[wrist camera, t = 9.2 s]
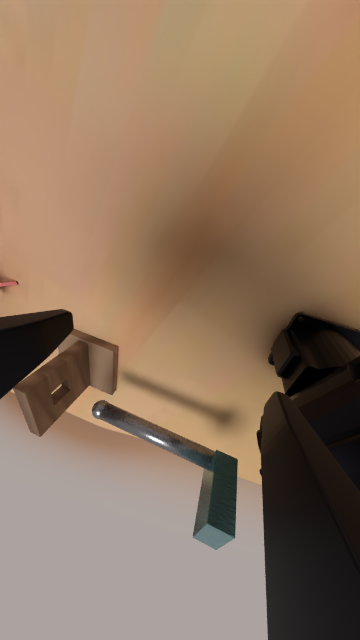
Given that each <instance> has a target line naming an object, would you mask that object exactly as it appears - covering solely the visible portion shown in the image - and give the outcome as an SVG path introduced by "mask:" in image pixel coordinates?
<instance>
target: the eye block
mask: <svg viewBox="0 0 360 640" xmlns="http://www.w3.org/2000/svg"><path fill="white" fill-rule="evenodd" d="M58 349H59V355H57V356H56V357H55V358H53V359H52V360H51V361H49V362H48V363H46V364H45V365H44V366H42V367H41V368H39V369H38V370H37V371H35V372H34V373H32V374H31V375H30V376H28V377H27V378H26V379H24V380H23V381H21V382H20V383H19V384H17V385H16V386H15V387H14V388H13V390H14V392H15V394H16V397H17V400H18V402H19V405H20V407H21V410H22V412H23V415H24V417H25V419H26V422H27V424H28V427H29V430H30V432H32V433H34V434H36V435H38V436H39V437H41V436H42V435H43V434H44V433H45V432H46V430H47V429H48V428H49V427H50V426H51V425H52V424H53V423H54V422H55V421H56V420H57V419H58V418H59V417H60V416H61V415H62V413H63V412H64V411H65V410H66V409H67V408H68V407H69V406H70V405H71V404H72V403H73V402H74V401H75V400H76V399H77V398H78V397H79V396H80V395H81V394H82V392H83V391H84V390H85V389H86V388H87V387H88V386H89V385H90V386H92V387H95V388H97V389H99V390H101V391H104V392H106V393H108V394H110V395H113V393H114V392H115V391H116V382H117V361H118V346H115V345H113V344H110V343H108V342H105V341H103V340H100V339H98V338H95V337H93V336H90V335H88V334H85V333H83V332H80V331H78V330H75V329H73V331H72V332H71V333H70V335H69V336H68V337H67V338H66V339H65V340H64V341H63V342H62V343H61V344H60V345H59V346H58ZM60 384H62V386H61V387H60V388H59V389H57V390H56V391H55V392H54V393H53V394H51V392H53V391H54V390H55V389H56V388H57V387H58V386H59V385H60Z"/></svg>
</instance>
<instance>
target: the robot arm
mask: <svg viewBox="0 0 360 640" xmlns="http://www.w3.org/2000/svg"><path fill="white" fill-rule="evenodd" d="M299 317H303V319H301V320H298V318H299ZM73 328H74V326H73V316H72V313H71V312H69V311H66V310H64V309H59V310H51V311H44V312H36V313H29V314H21V315H14V316H6V317H0V399H1V398H2V397H3V396H4V395H6V394H7V393H8V392H9V391H10V390H11V389H12V388H14V387H15V386H16V385H17V384H18V383H19V382H20V381H22V380H23V379H24V378H25V377H26V376H27V375H28V374H30V373H31V372H32V371H33V370H34V369H35V368H36V367H37V366H39V365H40V364H41V363H42V362H43V361H44V360H45V359H46V358H48V357H49V356H50V355H51V354H52V352H53V351H54V350H55V349H56V348H57V347H58V346H59V345H60V344H61V343H62V342H63V341H64V340H65V339H66V338H67V337H68V336H69V335H70V333H71V332H72V331H73ZM272 360H274V361H272ZM268 361H269V363H270V364H271V365H274V366H275V369H276V374H277V376H278V377H281V378H282V382H283V386H284V391H285V394H283V393H281V392H278V391H276V392H274V393H273V394H272V396H271V397H270V398H269V400H268V401H267V402H266V404H265V406H264V414H263V416H262V417H261V423H260V430H258V431H257V440H258V446H259V450H260V453H261V469H260V474H261V476H262V494H263V521H264V546H265V573H266V599H267V624H268V640H360V331H359V330H356V329H352V328H349V327H346V326H343V325H340V324H336V323H333V322H330V321H327V320H324V319H320V318H317V317H314V316H311V315H308V314H304V313H297V314H296V315H295V316H294V318H293V319H292V321H291V322H290V324H289V326H288V327H287V329H285V330H283V331H282V332H281V334H280V335H279V337H278V339H277V340H276V342H275V344H274V345H273V347H272V353H271V354H270V356H269V358H268Z"/></svg>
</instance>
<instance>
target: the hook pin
mask: <svg viewBox="0 0 360 640" xmlns="http://www.w3.org/2000/svg"><path fill="white" fill-rule="evenodd" d="M92 414H93V416H94V417H95V418H97V419H101V420H103V421H105V422H107V423H109V424H112V425H114V426H116V427H118V428H120V429H122V430H124V431H126V432H129V433H131V434H133V435H135V436H137V437H139V438H141V439H143V440H145V441H148V442H150V443H152V444H154V445H156V446H159V447H160V448H163V449H165V450H167V451H169V452H171V453H173V454H175V455H177V456H180V457H181V458H184V459H186V460H188V461H190V462H192V463H194V464H196V465H198V466H201V467H203V468H204V473H203V478H202V484H201V490H200V496H199V502H198V509H197V514H196V521H195V526H194V532H193V538H195V539H197V540H199V541H201V542H202V543H205V544H206V545H208V546H210V547H212V548H214V549H216V550H217V549H218V548H220V547H222V546H223V545H225V544H226V543H228V542H229V541H231V540H233V539H234V538H235V521H236V493H237V463H238V459H236V458H234V457H231V456H229V455H227V454H225V453H223V452H220V451H218V450H216V451H213V450H211V449H209V448H207V447H204V446H202V445H200V444H198V443H196V442H193V441H191V440H189V439H187V438H184V437H182V436H180V435H178V434H176V433H173V432H171V431H169V430H167V429H165V428H162V427H160V426H158V425H156V424H154V423H151V422H149V421H147V420H145V419H143V418H140V417H138V416H136V415H134V414H132V413H129V412H127V411H125V410H123V409H121V408H118V407H116V406H114V405H112V404H110V403H108V402H107V401H105V400H100V401H98V402H96V403H95V404H94V406H93V408H92Z"/></svg>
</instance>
